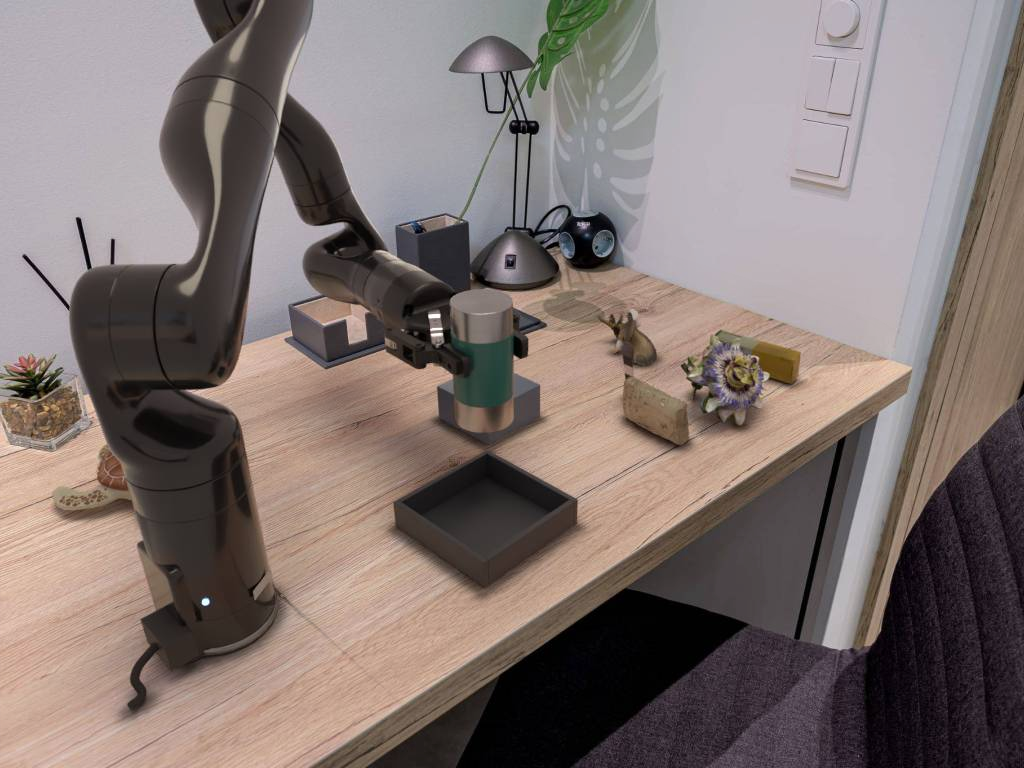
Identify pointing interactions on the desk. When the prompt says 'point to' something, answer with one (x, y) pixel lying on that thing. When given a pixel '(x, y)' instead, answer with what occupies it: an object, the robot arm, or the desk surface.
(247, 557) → the robot arm
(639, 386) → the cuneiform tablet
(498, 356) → the can
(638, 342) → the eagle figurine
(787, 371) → the medication box
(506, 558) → the tray
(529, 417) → the stand
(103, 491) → the decorative turtle
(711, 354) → the passion flower
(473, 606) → the desk surface
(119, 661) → the desk surface
